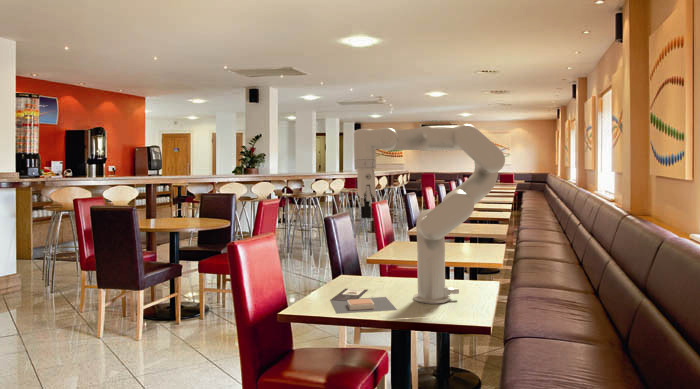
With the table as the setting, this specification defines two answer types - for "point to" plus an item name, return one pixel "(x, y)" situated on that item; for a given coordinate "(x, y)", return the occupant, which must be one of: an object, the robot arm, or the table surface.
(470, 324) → the table surface
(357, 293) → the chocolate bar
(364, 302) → the tile
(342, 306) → the mat
